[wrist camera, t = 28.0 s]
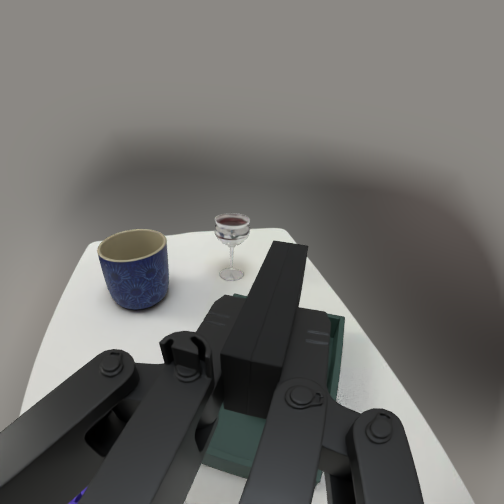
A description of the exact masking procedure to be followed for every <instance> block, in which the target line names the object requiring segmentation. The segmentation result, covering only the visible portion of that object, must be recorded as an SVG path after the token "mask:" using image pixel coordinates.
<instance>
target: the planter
mask: <svg viewBox="0 0 504 504" xmlns="http://www.w3.org/2000/svg"><path fill="white" fill-rule="evenodd" d="M97 252H98V256H99V260H100V264H101V268H102V271H103V275H104V278H105V281H106V284H107V287H108V290H109V292H110V294H111V296H112V298H113V299H114V301H115V302H116V303H117V304H119V305H120V306H122V307H124V308H128V309H144V308H148V307H151V306H153V305H155V304H157V303H158V302H159V301H161V300H162V299H163V297H164V296H165V295H166V293H167V290H168V284H169V271H168V255H167V240H166V237H165V236H164V235H163V234H161V233H160V232H157V231H154V230H149V229H134V230H128V231H123V232H120V233H117V234H114V235H112V236H110V237H108V238H106V239H105V240H104V241H102V242H101V244H100V245H99V247H98V250H97Z"/></svg>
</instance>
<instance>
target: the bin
mask: <svg viewBox="0 0 504 504" xmlns="http://www.w3.org/2000/svg"><path fill="white" fill-rule="evenodd" d="M233 296H234V297H239V298H245V299H246V298H247V296H243V295H239V294H234V295H233ZM326 314H327V313H326ZM327 316H328V318H329V320H330V322H331V331H330V344H329V359H328V370H327V389H328V392H329V394H330V395H331V397H332V398H333V399H334V400H335V401H336V397H337V390H338V382H339V374H340V366H341V357H342V347H343V335H344V323H345V317H343V316H337V315H332V314H327ZM218 416H219V419H218V425H217V427H216V430H215V432H214V434H213V437H212V439H211V442H210V444H209V446H208V449H207V451H206V453H205V456H204V458H203V460H202V464H205V465H207V466H210V467H213V468H216V469H219V470H221V471H225V472H228V473H231V474H234V475H237V476H241V477H244V478H248V476H249V473H250V470H251V467H252V463H253V460H254V457H255V454H256V451H257V448H258V445H259V441H260V438H261V435H262V432H263V428H264V425H265V422H266V419H263V418H259V417H254V416H250V415H245V414H241V413H237V412H233V411H230V410H226V409H224V406H223V403H222V406H221V408H220V411H219V413H218ZM321 476H322V471H321V470H319V469H318V473H317V478H316V483H315V486H316V485H317V484H318V483H319V482H320V480H321Z"/></svg>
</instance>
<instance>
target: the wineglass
mask: <svg viewBox="0 0 504 504" xmlns="http://www.w3.org/2000/svg"><path fill="white" fill-rule="evenodd" d="M215 222H216V223H217V224H216V225H215V235H216V237H217V239H218V240H219V241H221V242H222V243H223V244H225V245H228V246H229V247H230V268H225V269H223V270H221V271H220V273H219V274H220V277H221V278H223V279H225V280H230V281H233V280H238V279H240V278H242V277H243V272H242V271H241V270H239V269H237V268H233V253H234V247H235V246H236V245H240V244H241V243H243V242H244V241H245V240H246V239H247V238H248V236H249V232H250V227H249V225H248V224H249V222H250V219H249V218H248V217H247V216H245V215H241V214H233V213H232V214H231V213H230V214H222V215H219V216H217V217H216V218H215Z"/></svg>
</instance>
